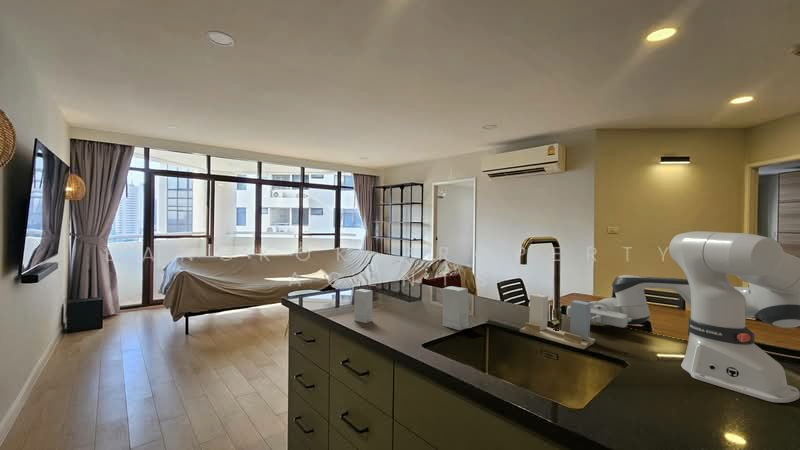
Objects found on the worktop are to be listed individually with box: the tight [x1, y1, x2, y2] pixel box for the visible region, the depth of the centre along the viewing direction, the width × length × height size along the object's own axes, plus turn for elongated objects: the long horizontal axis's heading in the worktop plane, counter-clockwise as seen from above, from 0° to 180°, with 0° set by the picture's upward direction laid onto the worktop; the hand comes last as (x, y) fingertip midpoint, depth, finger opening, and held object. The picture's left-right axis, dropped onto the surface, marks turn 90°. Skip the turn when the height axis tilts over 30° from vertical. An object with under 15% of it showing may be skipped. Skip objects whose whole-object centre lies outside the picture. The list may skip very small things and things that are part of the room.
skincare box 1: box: [353, 288, 374, 324], centre depth 136 cm, size 6×4×12 cm
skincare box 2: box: [441, 285, 469, 331], centre depth 131 cm, size 8×6×15 cm
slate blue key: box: [569, 299, 591, 340], centre depth 119 cm, size 4×5×12 cm
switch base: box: [519, 322, 596, 350], centre depth 123 cm, size 10×22×3 cm, turn 43°
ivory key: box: [528, 293, 549, 330], centre depth 129 cm, size 4×5×12 cm
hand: (589, 319), depth 126 cm, fingers closed
